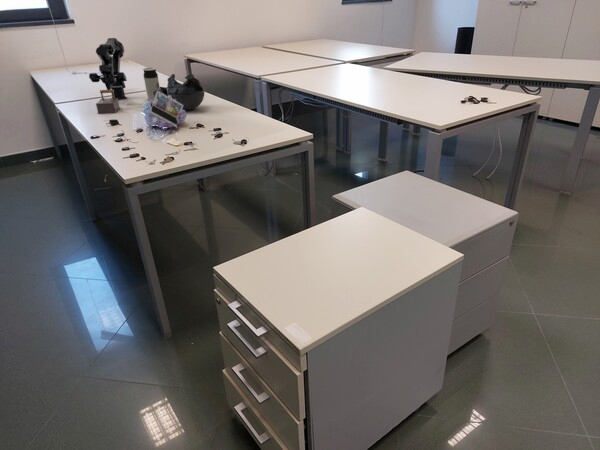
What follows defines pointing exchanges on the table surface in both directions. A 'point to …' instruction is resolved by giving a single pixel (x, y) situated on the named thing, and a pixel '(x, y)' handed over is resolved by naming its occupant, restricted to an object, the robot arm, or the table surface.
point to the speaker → (162, 89)
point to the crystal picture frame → (163, 111)
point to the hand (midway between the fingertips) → (108, 91)
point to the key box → (108, 108)
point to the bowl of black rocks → (186, 91)
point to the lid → (106, 100)
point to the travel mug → (151, 82)
